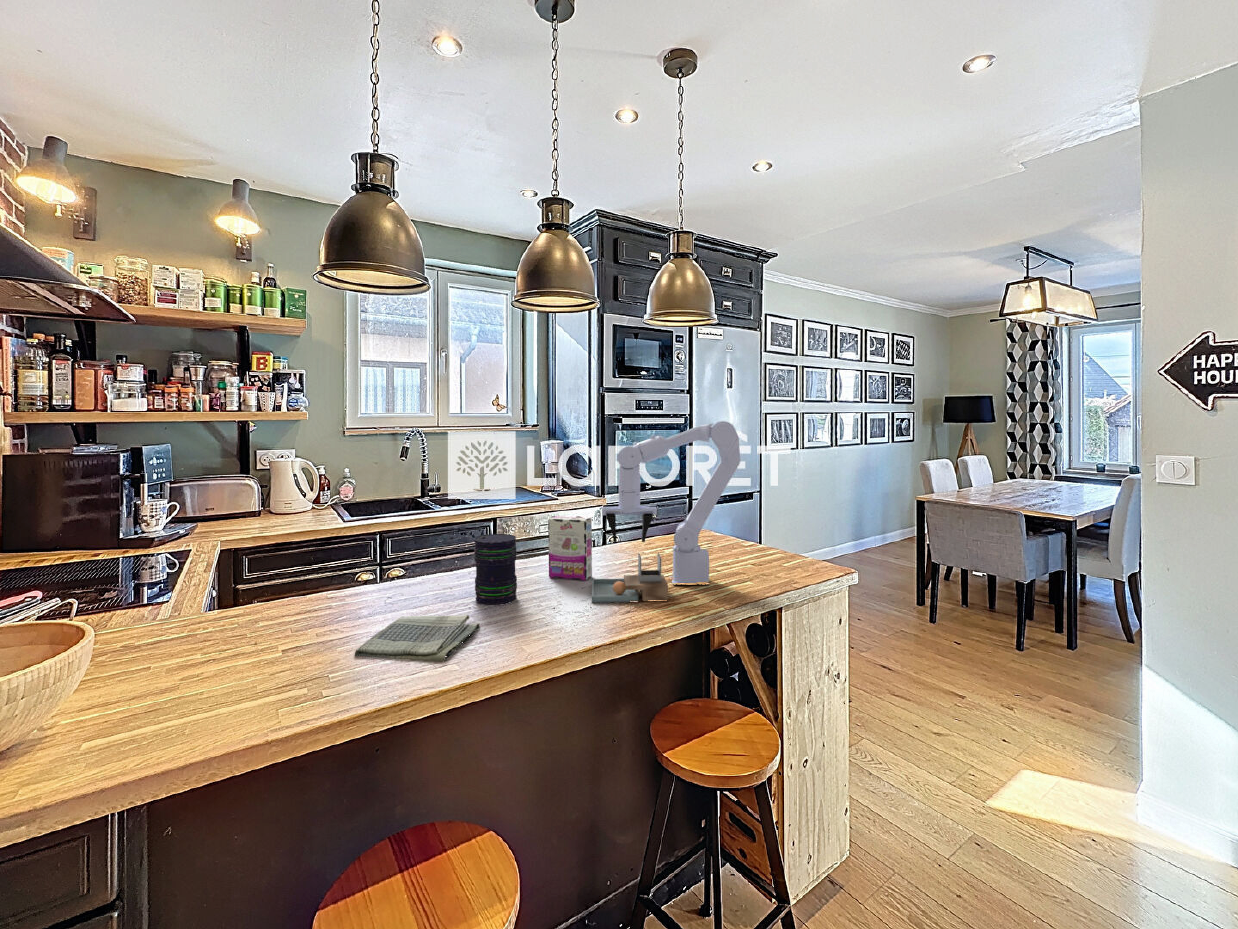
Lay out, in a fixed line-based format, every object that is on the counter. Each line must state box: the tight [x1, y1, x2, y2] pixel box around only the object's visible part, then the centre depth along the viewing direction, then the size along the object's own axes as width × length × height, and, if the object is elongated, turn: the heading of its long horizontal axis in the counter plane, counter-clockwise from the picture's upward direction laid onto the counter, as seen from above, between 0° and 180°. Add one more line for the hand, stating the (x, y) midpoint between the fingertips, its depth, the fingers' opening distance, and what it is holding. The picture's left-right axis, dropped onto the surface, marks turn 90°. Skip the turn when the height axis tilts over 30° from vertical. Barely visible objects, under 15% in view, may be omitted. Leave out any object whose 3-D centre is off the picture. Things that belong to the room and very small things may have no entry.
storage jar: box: [473, 533, 518, 606], centre depth 139 cm, size 10×10×15 cm
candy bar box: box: [547, 516, 593, 581], centre depth 159 cm, size 11×5×16 cm, turn 73°
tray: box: [591, 578, 639, 604], centre depth 145 cm, size 11×15×2 cm
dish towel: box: [354, 614, 481, 662], centre depth 114 cm, size 19×18×3 cm
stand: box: [623, 574, 669, 601], centre depth 142 cm, size 10×9×4 cm
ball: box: [613, 581, 626, 595], centre depth 142 cm, size 3×3×3 cm
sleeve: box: [637, 553, 662, 583], centre depth 142 cm, size 5×5×6 cm
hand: (629, 541), depth 157 cm, fingers open, 7 cm apart
